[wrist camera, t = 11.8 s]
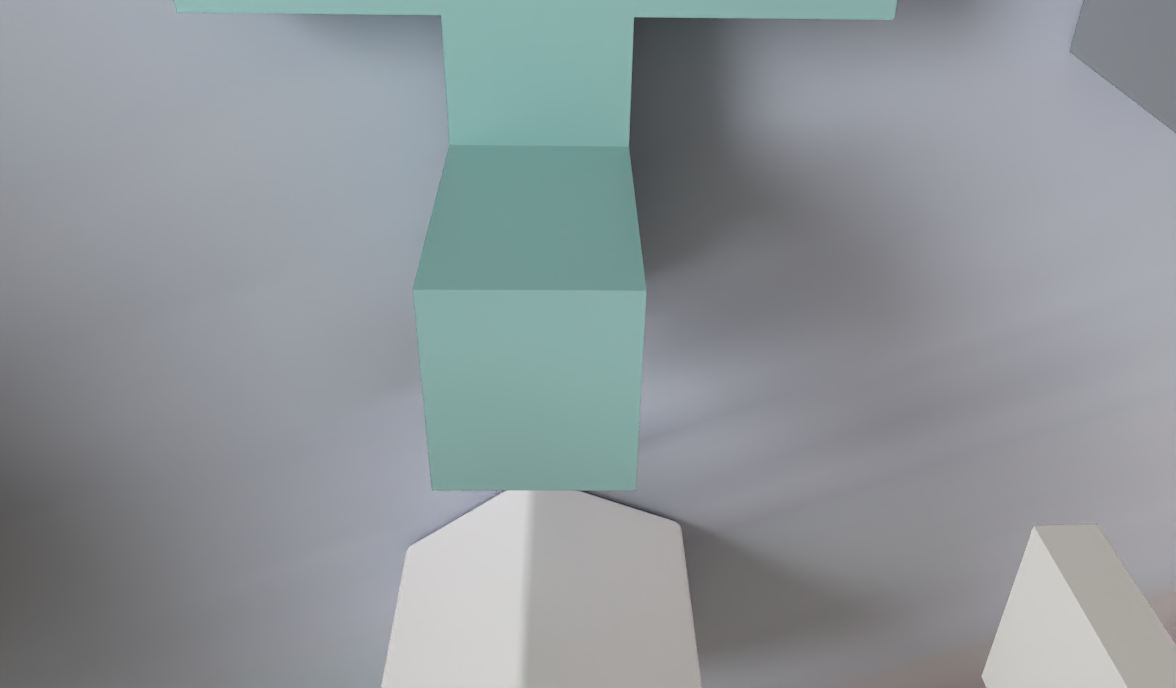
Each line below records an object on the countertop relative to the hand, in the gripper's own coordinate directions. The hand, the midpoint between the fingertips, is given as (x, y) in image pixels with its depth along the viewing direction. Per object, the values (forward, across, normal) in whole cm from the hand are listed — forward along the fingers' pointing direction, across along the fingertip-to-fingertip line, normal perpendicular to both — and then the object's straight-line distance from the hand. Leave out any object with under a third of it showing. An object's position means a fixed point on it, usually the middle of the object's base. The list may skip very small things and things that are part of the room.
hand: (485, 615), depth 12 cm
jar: (+13, +1, -13) cm, 18 cm away
